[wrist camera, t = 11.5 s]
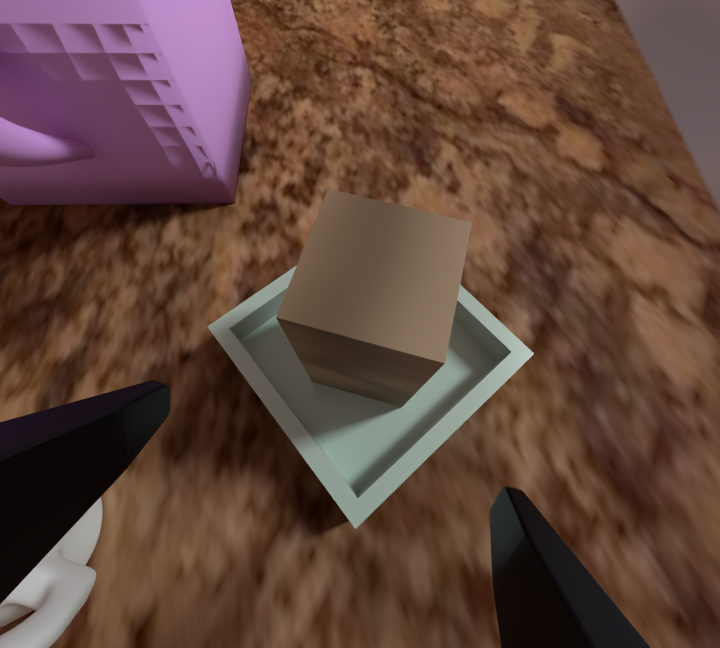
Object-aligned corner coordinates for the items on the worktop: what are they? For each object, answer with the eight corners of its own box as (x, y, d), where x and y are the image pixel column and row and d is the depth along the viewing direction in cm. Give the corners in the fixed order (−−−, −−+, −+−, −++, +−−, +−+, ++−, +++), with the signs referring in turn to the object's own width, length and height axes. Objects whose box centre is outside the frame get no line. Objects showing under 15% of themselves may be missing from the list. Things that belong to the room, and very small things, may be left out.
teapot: (259, 30, 31) (189, -285, 18) (226, 265, 21) (29, -30, 8) (91, 29, 30) (-107, -293, 17) (-16, 268, 21) (-613, -35, 8)
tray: (512, 366, 19) (534, 353, 17) (355, 518, 16) (355, 529, 14) (376, 234, 22) (379, 209, 20) (224, 342, 19) (207, 326, 17)
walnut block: (421, 322, 19) (472, 222, 11) (401, 407, 18) (445, 363, 9) (339, 301, 20) (328, 188, 11) (311, 381, 18) (275, 317, 10)
